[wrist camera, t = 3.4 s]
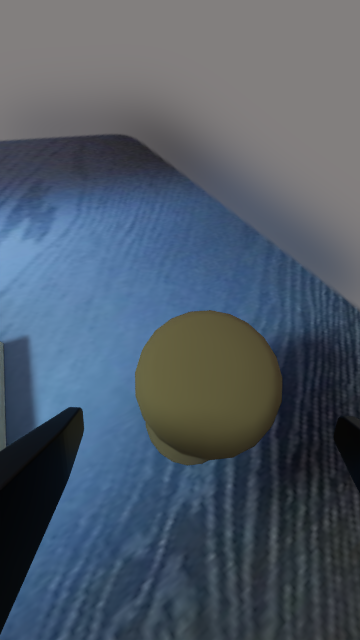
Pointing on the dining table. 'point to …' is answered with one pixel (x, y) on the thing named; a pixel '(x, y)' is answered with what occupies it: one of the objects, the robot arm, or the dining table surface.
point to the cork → (207, 387)
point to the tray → (2, 401)
